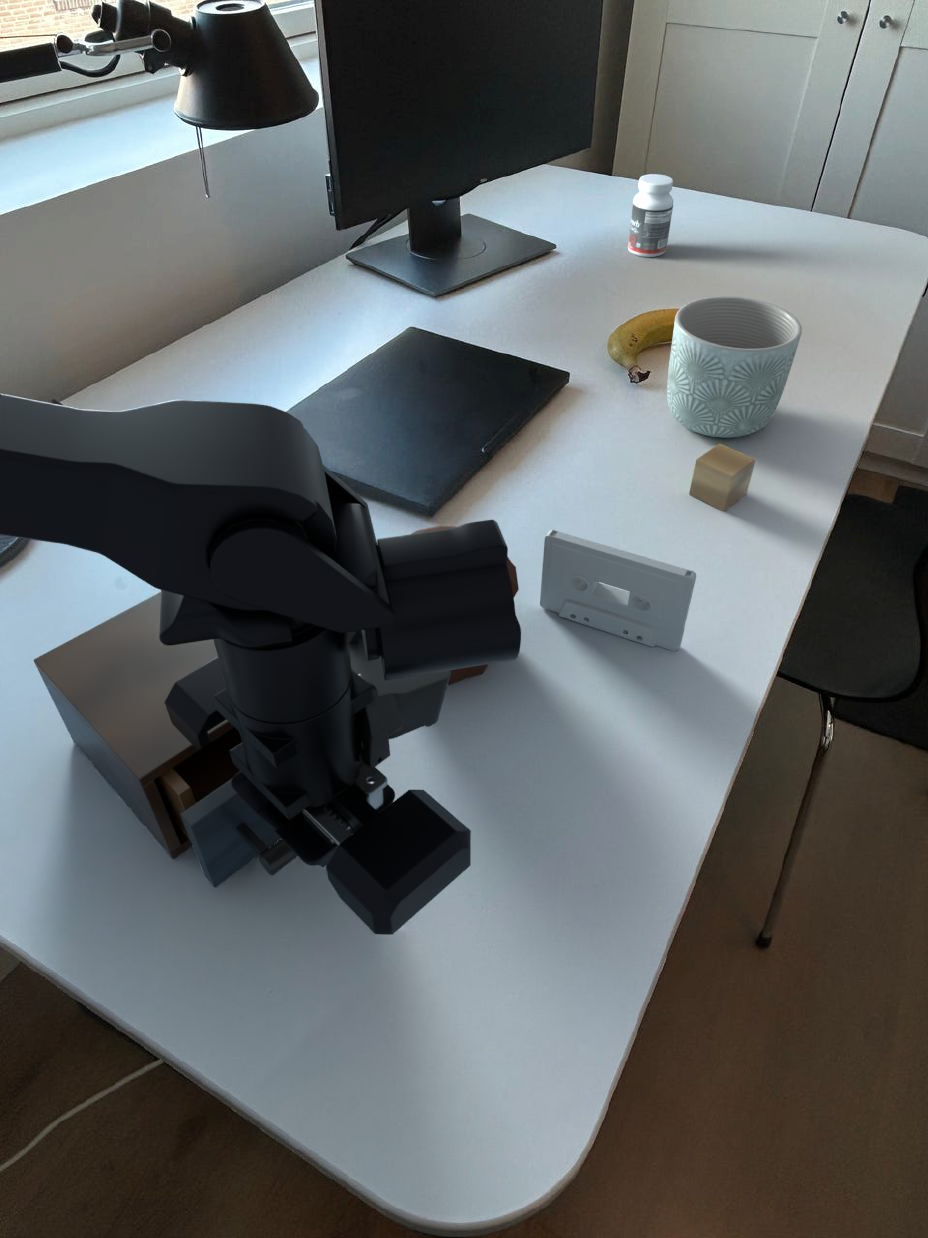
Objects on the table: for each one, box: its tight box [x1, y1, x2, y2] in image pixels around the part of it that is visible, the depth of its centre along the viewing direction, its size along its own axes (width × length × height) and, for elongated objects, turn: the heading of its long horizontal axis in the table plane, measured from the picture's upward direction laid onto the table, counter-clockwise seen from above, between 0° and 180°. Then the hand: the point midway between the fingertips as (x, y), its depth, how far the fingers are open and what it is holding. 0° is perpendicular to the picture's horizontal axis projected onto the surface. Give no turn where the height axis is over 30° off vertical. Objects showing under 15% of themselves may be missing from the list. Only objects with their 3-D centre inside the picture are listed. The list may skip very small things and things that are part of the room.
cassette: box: [539, 529, 697, 652], centre depth 69 cm, size 12×2×8 cm, turn 63°
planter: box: [666, 295, 803, 439], centre depth 92 cm, size 12×12×11 cm
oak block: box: [688, 443, 757, 512], centre depth 84 cm, size 4×4×4 cm
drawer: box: [154, 727, 298, 889], centre depth 56 cm, size 16×10×7 cm, turn 45°
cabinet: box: [33, 591, 234, 860], centre depth 60 cm, size 14×12×9 cm
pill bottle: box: [627, 173, 674, 258], centre depth 126 cm, size 6×6×10 cm
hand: (326, 858), depth 51 cm, fingers closed
